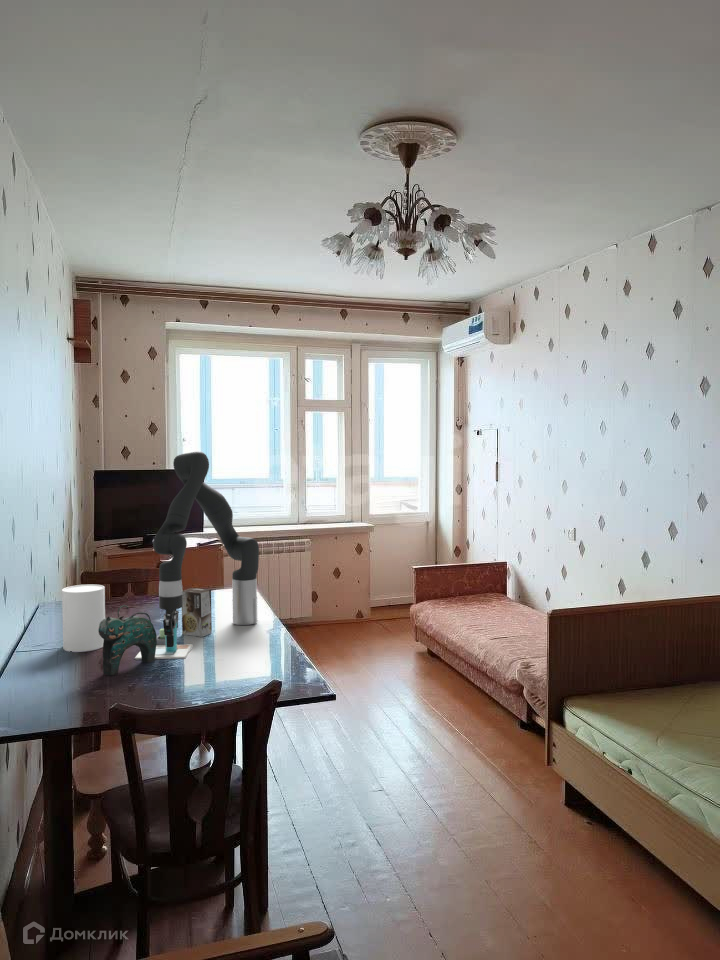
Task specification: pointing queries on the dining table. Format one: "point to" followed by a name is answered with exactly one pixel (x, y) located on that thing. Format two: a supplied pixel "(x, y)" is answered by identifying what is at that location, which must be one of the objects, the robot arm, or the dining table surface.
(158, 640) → the button housing
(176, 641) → the teal capped bottle
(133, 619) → the ceramic cat
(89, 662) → the dining table surface
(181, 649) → the sheet
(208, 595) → the coffee box
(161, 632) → the button
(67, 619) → the canister
